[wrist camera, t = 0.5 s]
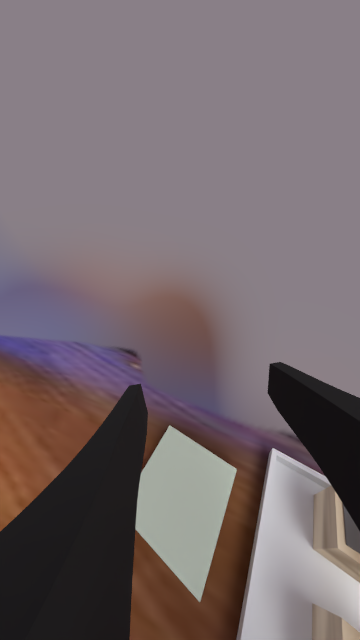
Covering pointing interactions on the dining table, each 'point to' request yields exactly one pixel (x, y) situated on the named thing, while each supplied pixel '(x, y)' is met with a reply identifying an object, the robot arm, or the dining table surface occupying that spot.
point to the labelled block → (336, 533)
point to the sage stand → (183, 506)
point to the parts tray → (291, 561)
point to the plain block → (331, 626)
